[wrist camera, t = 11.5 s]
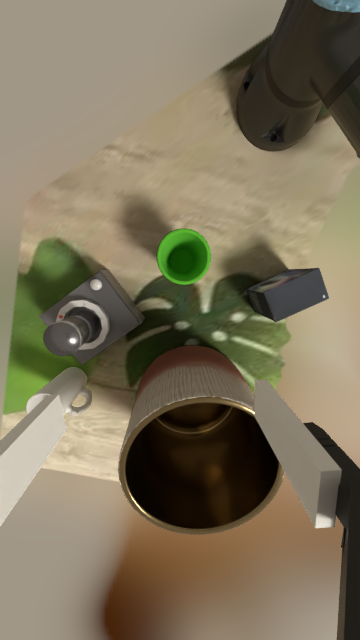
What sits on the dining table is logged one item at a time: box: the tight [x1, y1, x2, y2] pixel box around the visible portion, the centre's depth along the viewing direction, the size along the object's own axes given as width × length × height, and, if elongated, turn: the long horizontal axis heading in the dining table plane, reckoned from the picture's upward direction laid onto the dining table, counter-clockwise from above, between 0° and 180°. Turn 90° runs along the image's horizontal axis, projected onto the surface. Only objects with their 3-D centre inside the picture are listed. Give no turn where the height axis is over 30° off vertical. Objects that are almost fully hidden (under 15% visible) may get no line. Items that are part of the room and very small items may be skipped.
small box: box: [246, 268, 329, 322], centre depth 43 cm, size 11×6×10 cm, turn 115°
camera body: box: [39, 270, 145, 365], centre depth 45 cm, size 16×13×7 cm
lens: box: [43, 311, 100, 356], centre depth 38 cm, size 6×6×10 cm
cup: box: [157, 228, 211, 285], centre depth 41 cm, size 9×9×11 cm
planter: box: [118, 345, 285, 535], centre depth 42 cm, size 25×25×22 cm
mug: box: [26, 367, 92, 417], centre depth 46 cm, size 10×7×12 cm, turn 67°
